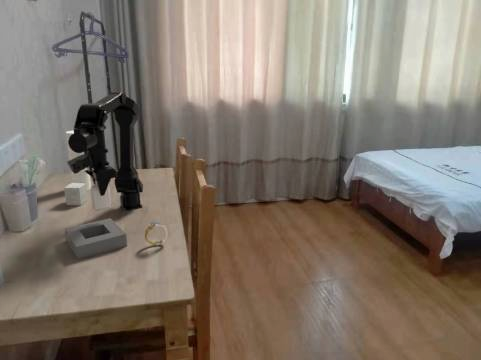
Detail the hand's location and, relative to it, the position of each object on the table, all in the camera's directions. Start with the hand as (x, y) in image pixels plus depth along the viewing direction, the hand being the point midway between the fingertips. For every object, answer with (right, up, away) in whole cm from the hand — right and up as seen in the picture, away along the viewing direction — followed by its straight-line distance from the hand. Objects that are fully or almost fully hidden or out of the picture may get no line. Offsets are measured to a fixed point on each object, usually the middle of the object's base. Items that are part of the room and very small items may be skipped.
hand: (100, 193), depth 125 cm
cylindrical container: (-24, +1, +45) cm, 51 cm away
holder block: (0, -15, -3) cm, 16 cm away
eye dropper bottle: (0, -5, +2) cm, 5 cm away
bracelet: (+19, -16, -4) cm, 25 cm away
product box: (-20, -5, +29) cm, 36 cm away
